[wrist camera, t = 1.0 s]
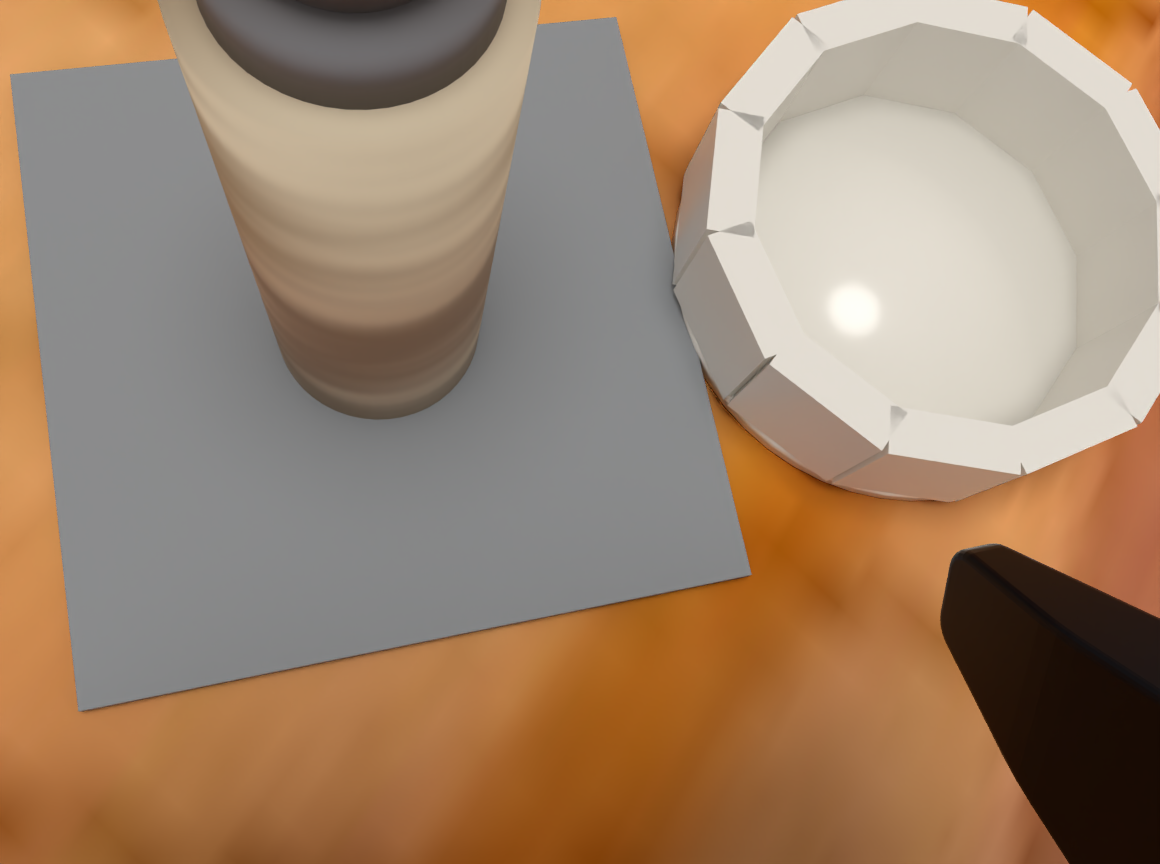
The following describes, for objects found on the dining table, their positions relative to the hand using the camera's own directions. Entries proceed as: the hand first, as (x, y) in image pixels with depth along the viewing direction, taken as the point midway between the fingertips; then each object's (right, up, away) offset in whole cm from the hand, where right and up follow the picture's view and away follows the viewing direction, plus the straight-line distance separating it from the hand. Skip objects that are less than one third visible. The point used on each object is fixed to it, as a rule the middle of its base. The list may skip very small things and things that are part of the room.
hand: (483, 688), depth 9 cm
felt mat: (-4, +5, +15) cm, 16 cm away
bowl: (+8, +6, +17) cm, 20 cm away
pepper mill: (-4, +5, +15) cm, 16 cm away
